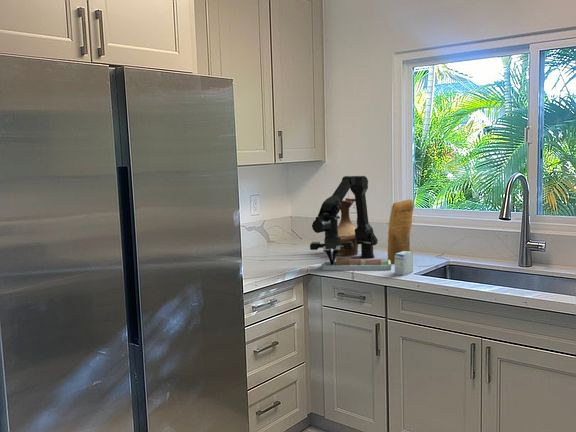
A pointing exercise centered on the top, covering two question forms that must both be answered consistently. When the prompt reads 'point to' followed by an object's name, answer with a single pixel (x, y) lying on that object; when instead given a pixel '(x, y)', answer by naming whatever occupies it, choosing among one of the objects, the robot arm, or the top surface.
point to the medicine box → (403, 263)
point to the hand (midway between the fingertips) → (332, 264)
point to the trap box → (384, 265)
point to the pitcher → (347, 229)
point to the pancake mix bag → (399, 228)
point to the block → (343, 261)
